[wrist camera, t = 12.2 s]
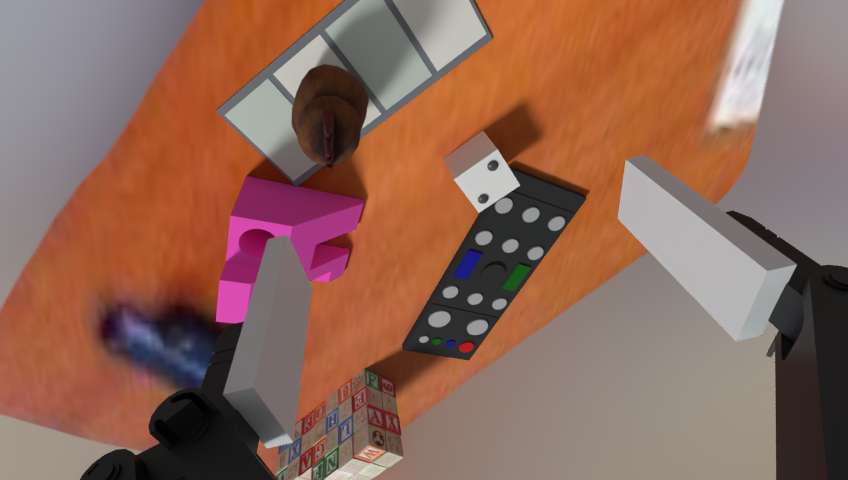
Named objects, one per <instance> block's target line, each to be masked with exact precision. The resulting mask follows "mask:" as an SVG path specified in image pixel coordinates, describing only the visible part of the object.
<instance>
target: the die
mask: <svg viewBox="0 0 848 480" xmlns="http://www.w3.org/2000/svg"><path fill="white" fill-rule="evenodd" d="M444 160H445V162H446V164H447V166H448V168H449V171H450V173H451V175H452V177H453V179H454V180H455V182H456V183H457V184H458V186H459V187H460V188H461V190H462V191H463V192H464V194H465V195H466V196H467V198H468V199H469V200H470V202H471V203H472V204H473V206H474V207H475V208H476V210H477V211H478V212H481V211H483V210H484V209H486V208H487V207H489V206H490V205H492V204H493V203H495V202H496V201H498V200H499V199H501V198H502V197H504V196H505V195H507V194H508V193H510V192H511V191H513V190H514V189H516V188H517V187H519V186H520V184H519V182H518V181H517V179H516V178H515V176H514V174H513V173H512V171H511V170H510V168H509V167H508V165H507V163H506V162H505V160H504V159H503V157H502V155H501V154H500V152H499V151H498V149H497V148H496V146H495V145H494V144H493V143H492V141H491V140H490V139H489V137H488V136H487V135H486V134H485V132H484V131H481V132H480V133H479V134H477V135H476V136H474V137H473V138H472V139H470V140H469V141H467V142H466V143H465V144H463V145H462V146H460V147H459V148H458V149H456V150H455V151H453V152H452V153H451V154H449V155H448V156H446V157H445V158H444Z"/></svg>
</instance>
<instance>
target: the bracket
mask: <svg viewBox="0 0 848 480" xmlns="http://www.w3.org/2000/svg"><path fill="white" fill-rule="evenodd" d="M363 204H364V202H363V200H362V199H357V198H352V197H347V196H342V195H337V194H332V193H328V192H323V191H318V190H313V189H308V188H303V187H298V186H297V187H296V186H294V185H289V184H284V183H279V182H274V181H269V180H264V179H260V178H255V177H250V176H246V178H245V181H244V183H243V186H242V188H241V191H240V193H239V196H238V198H237V201H236V203H235V206H234V208H233V210H232V213H231V215H230V225H229V236H228V247H227V257H226V263H225V266H224V269H223V272H222V275H221V277H220V280H219V292H218V303H217V315H216V321H218V322H228V323H239V322H244V320H245V316H246V313H247V309H248V306H249V303H250V299H251V296H252V292H253V289H254V285H255V282H256V278H257V275H258V271H259V268H260V265H261V261H262V258H263V254H264V251H265V247H266V244H267V240H268V239H270V238H275V237H279V236H284V235H288V236H289V238H290V240H291V243H292V245H293V247H294V249H295V251H296V253H297V255H298V258H299V260H300V262H301V264H302V266H303V268H304V271H305V273H306V275H307V277H308V279H309V281H312V280H315V281H322V282H330V281H332V280H334V279H336V278H338V277H340V276H342V275H343V273H344V270H345V266H346V263H347V259H348V256H349V249H346V248H340V247H334V246H328V245H322V244H319V243H322V242H324V241H327V240H329V239H332V238H335V237H337V236H340V235H342V234H345V233H347V232H350V231H352V230H355V229H356V228H357V224H358V221H359V218H360V214H361V211H362V207H363Z"/></svg>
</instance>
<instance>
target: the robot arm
mask: <svg viewBox="0 0 848 480" xmlns="http://www.w3.org/2000/svg"><path fill="white" fill-rule="evenodd" d="M618 219H619V220H620V221H621V223H622V224H623V225H624V226H625V227H626V228H627V229H628V230H629V231H630V232H631V233H632V234H633V235H634V236H635V237H636V238H637V239H638V240H639V241H640V242H641V243H642V244H643V245H644V246H645V247H646V248H647V249H648V251H649V252H650V253H651V254H652V255H653V256H654V257H655V258H656V259H657V260H658V261H659V262H660V263H661V264H662V265H663V266H664V267H665V268H666V269H667V270H668V271H669V272H670V273H671V274H672V275H673V276H674V277H675V278H676V280H677V281H678V282H679V283H680V284H681V285H682V286H683V287H684V288H685V289H686V290H687V291H688V292H689V293H690V294H691V295H692V296H693V297H694V298H695V299H696V300H697V301H698V302H699V303H700V304H701V305H702V306H703V307H704V309H705V310H707V312H708V313H709V314H710V315H711V316H712V317H713V318H714V319H715V320H716V321H717V322H718V323H719V324H720V325H721V326H722V327H723V328H724V329H725V330H726V331H727V332H728V333H729V335H730V336H731V337H732V338H734V340H735V341H740V340H744V339H749V338H753V337H758V336H762V334H763V332H764V330H765V328H766V326H767V324H768V322H771V323H772V324H773V325H774V326H775V327H776V328H777V329H778V330H779V332H778V333H777V335H776V337H775V339H774V341H773V343H772V344H771V346H770V348H769V350H768V353H767V356H769V357H771V356H772V355H773V352H775V360H776V361H775V367H776V368H775V370H776V371H775V372H776V478H777V479H776V480H848V268H846V267H842V266H833V265H823V266H821V265H819V264H818V263H816V262H815V261H813V260H812V259H811V258H809V257H807V256H806V255H804V254H803V253H802V252H800V251H799V250H797V249H796V248H795V247H793V246H792V245H790V244H789V243H787V242H786V241H784V240H783V239H781V238H780V237H779V238H777V235H776V234H774V233H773V232H771V231H770V230H766V229H765V227H764V226H762V225H761V224H760V223H758V222H757V221H755V220H754V219H752V218H751V217H748V216H745V215H743V214H740V213H738V212H735V211H729V212H724V211H722V210H721V209H720V208H718V207H717V206H715V205H714V204H713V203H711V202H710V201H708V200H707V199H706V198H704V197H703V196H702V195H700V194H699V193H697V192H696V191H695V190H693V189H692V188H690V187H689V186H688V185H686V184H685V183H683V182H682V181H681V180H679V179H678V178H677V177H675V176H674V175H672V174H671V173H670V172H668V171H667V170H665V169H664V168H663V167H661V166H660V165H659V164H657V163H656V162H654V161H653V160H652V159H650V158H649V157H647V156H646V155H643V156H639V157H634V158H630V159H626V162H625V169H624V176H623V184H622V191H621V198H620V205H619V213H618ZM311 292H312V286H311V284H310V281H309V279H308V277H307V275H306V273H305V271H304V268H303V266H302V264H301V262H300V260H299V258H298V255H297V253H296V251H295V249H294V247H293V245H292V243H291V240H290V238H289V236H288V235H284V236H279V237H275V238H270V239H268V240H267V244H266V247H265V251H264V254H263V258H262V261H261V265H260V268H259V271H258V275H257V278H256V282H255V285H254V289H253V292H252V296H251V299H250V303H249V306H248V309H247V313H246V316H245V320H244V322H239V323H235V324H231V325H228V326H227V327H226V329H225V330H224V331H223V333H222V334H221V335H220V336H219V338H218V339H217V342H216V345H215V348H214V351H213V356H212V357H211V360H210V363H209V367H208V369H207V371H206V374H205V377H204V380H203V383H202V386H201V389H200V390H199V389H198V388H186V389H183V390H180V391H178V392H176V393H174V394H173V395H171V396H169V397H168V398H167V399H166V400H164V401H163V402H162V403H161V404H160V405H159V406H158V407H157V409H156V410H155V412H154V413H153V415H152V416H151V420H150V423H149V431H150V434H151V435H152V436H153V437H154V438H155V439H157V440H158V441H159V442H160V443H159V444H157V445H155V446H153V447H151V448H150V449H148V450H146V451H144V452H142V453H140V454H138V455H135V454H133V453H132V452H131V451H128V450H127V449H120V450H115V451H112V452H110V453H108V454H106V455H104V456H102V457H101V458H100V459H98V460H97V461H96V462H94V463H93V464H92V465H91V466H90V467H89V468H88V469H87V470H86V472H85V473H84V474H83V476H82V477H81V479H80V480H278V479H277V478H276V477H275V476H274V474H273V473H272V472H271V471H270V469H269V468H268V467H267V466H266V464H265V463H264V462H263V461H262V459H261V458H260V457H259V456H258V454H257V448H258V442H259V439H260V440H261V442H262V443H263V444H264V445H265V446H266V448H271V447H276V446H280V445H284V444H289V443H293V441H294V433H295V425H296V416H297V408H298V400H299V392H300V383H301V375H302V367H303V358H304V350H305V342H306V333H307V325H308V317H309V309H310V300H311Z"/></svg>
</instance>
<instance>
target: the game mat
mask: <svg viewBox="0 0 848 480" xmlns="http://www.w3.org/2000/svg"><path fill="white" fill-rule="evenodd" d="M492 39H493V38H492V36H491V34H490V32H489V30H488V28H487V27H486V25H485V23H484V21H483V19H482V17H481V15H480V13H479V11H478V9H477V7H476V5H475V3H474V1H473V0H344V1H343V2H342V3H341V4H340V5H338V6H337V7H336V8H335V9H334V10H333V11H331V12H330V13H329V14H328V15H327V16H326V17H324V18H323V19H322V20H321V21H320V22H319V23H317V24H316V25H315V26H314V27H313V28H312V29H310V30H309V31H308V32H307V33H306V34H305V35H303V36H302V37H301V38H300V39H299V40H298V41H297V42H295V43H294V44H293V45H292V46H291V47H290V48H288V49H287V50H286V51H285V52H284V53H283V54H281V55H280V56H279V57H278V58H277V59H276V60H274V61H273V62H272V63H271V64H270V65H269V66H267V67H266V68H265V69H264V70H263V71H262V72H260V73H259V74H258V75H257V76H256V77H255V78H253V79H252V80H251V81H250V82H249V83H248V84H246V85H245V86H244V87H243V88H242V89H241V90H239V91H238V92H237V93H236V94H235V95H234V96H232V97H231V98H230V99H229V100H228V101H227V102H225V103H224V104H223V105H222V106H221V107H220V108H218V109H217V110H216V111H217V112H218V113H219V114H220V115H221V116H222V117H223V118H224V119H225V120H226V121H227V122H228V123H229V124H230V125H231V126H232V127H233V128H235V129H236V130H237V131H238V132H239V133H240V134H241V135H242V136H243V137H244V138H245V139H246V140H247V141H248V142H249V143H250V144H251V145H253V146H254V147H255V148H256V149H257V150H258V151H259V152H260V153H261V154H262V155H263V156H264V157H265V158H266V159H267V160H268V161H269V162H270V163H272V164H273V165H274V166H275V167H276V168H277V169H278V170H279V171H280V172H281V173H282V174H283V175H284V176H285V177H286V178H287V179H288V180H290V181H291V182H292V183H293V184H294V185H295V186H296V187H297V186H299V185H300V184H301V183H303V182H304V181H305V180H306V179H308V178H309V177H310V176H312V175H313V174H314V173H316V172H317V171H318V170H320V169H321V168H322V167H324V166H325V165H321V164H318V163H315V162H312V161H311V160H310V159H309V158H308V157H307V156H306V155H305V154H304V152H303V150H302V148H301V146H300V145H299V143H298V138H297V135H296V133H295V131H294V129H293V127H292V123H291V120H292V106H293V103H294V99H295V96H296V92H297V90H298V88H299V85H300V83H301V81H302V79H303V78H304V77H305V75H306V74H307V72H308V71H309V70H310V69H312V68H315V67H317V66H320V65H323V64H327V65H333V66H338V67H340V68H342V69H344V70H346V71H348V72H350V73H351V74H353V75H354V76H355V77H356V78H358V79H359V80H360V81H361V82H362V83H363V85H364V87H365V90H366V92H367V94H368V97H369V102H368V107H367V114H366V118H365V121H364V124H363V127H362V129H361V136H360V139H361V138H362V137H363V136H365V135H366V134H367V133H369V132H370V131H371V130H373V129H374V128H375V127H377V126H378V125H379V124H381V123H382V122H383V121H384V120H386V119H387V118H388V117H390V116H391V115H392V114H394V113H395V112H396V111H398V110H399V109H400V108H402V107H403V106H404V105H406V104H407V103H408V102H410V101H411V100H412V99H414V98H415V97H416V96H418V95H419V94H420V93H422V92H423V91H424V90H425V89H427V88H428V87H429V86H431V85H432V84H433V83H435V82H436V81H437V80H439V79H440V78H441V77H443V76H444V75H445V74H447V73H448V72H449V71H451V70H452V69H453V68H455V67H456V66H457V65H459V64H460V63H461V62H463V61H464V60H465V59H466V58H468V57H469V56H470V55H472V54H473V53H474V52H476V51H477V50H478V49H480V48H481V47H482V46H484V45H485V44H486V43H488V42H489V41H490V40H492Z"/></svg>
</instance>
